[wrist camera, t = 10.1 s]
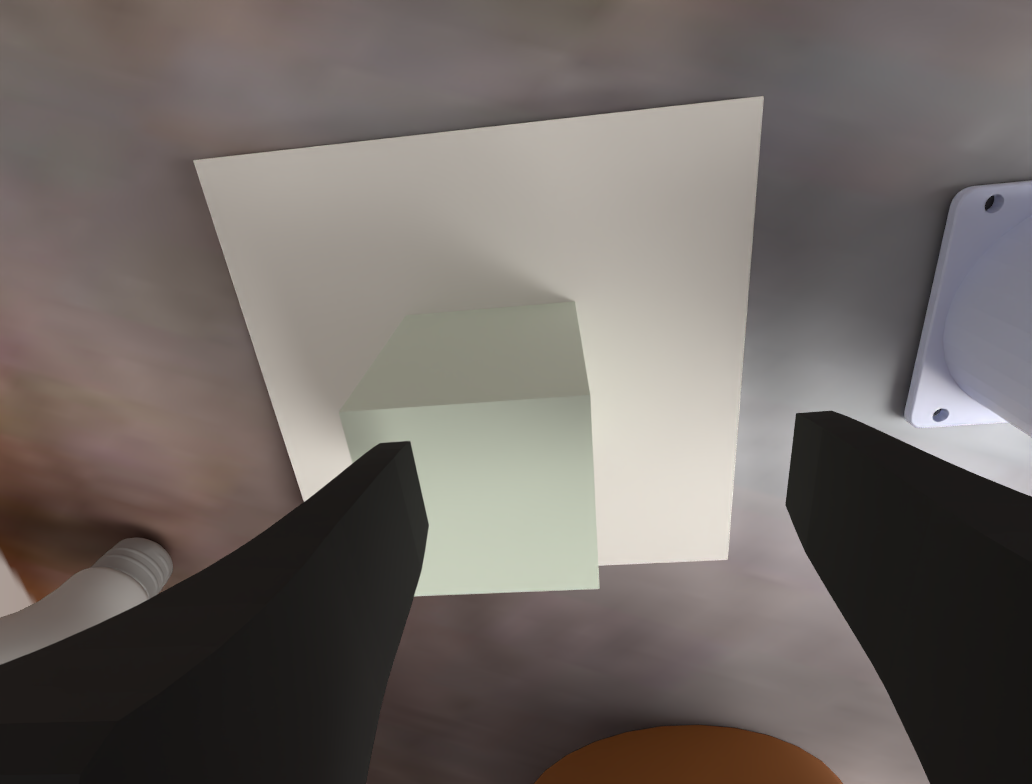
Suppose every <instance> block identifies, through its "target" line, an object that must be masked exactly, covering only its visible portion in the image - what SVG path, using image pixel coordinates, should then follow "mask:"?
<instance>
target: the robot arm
mask: <svg viewBox="0 0 1032 784" xmlns="http://www.w3.org/2000/svg"><path fill="white" fill-rule="evenodd" d="M993 195H994V203H993V205H992V206H991V207H990V208H989V209H988V210H985V206H984V205H985V203H986V201H987V199H989V198H990V197H991V196H993ZM938 409H942V410H941V411H940V413H939V414H937V415H936V416H933V414H934V412H935V411H937V410H938ZM904 417H905V419H906V421H907V422H909V423H910V424H911V425H912V426H914V427H916V428H931V427H947V426H963V425H979V424H995V423H1011V424H1012V425H1014V426H1015V427H1017V428H1018V429H1020V430H1021V431H1023V432H1024V433H1026V434H1027V435H1029V436H1030V437H1032V180H1031V181H1020V182H1010V183H1000V184H989V185H979V186H971V187H967V188H964V189H963V190H961V191H960V192H958V193H957V195H956V196H955V197H954V198H953V200H952V202H951V205H950V209H949V213H948V218H947V222H946V227H945V231H944V236H943V240H942V245H941V249H940V254H939V258H938V263H937V267H936V272H935V276H934V281H933V285H932V290H931V294H930V299H929V303H928V308H927V312H926V317H925V321H924V326H923V330H922V335H921V339H920V344H919V349H918V353H917V358H916V362H915V367H914V371H913V376H912V380H911V385H910V389H909V394H908V398H907V403H906V407H905V412H904ZM786 507H787V510H788V512H789V515H790V517H791V520H792V522H793V525H794V527H795V530H796V532H797V534H798V537H799V539H800V541H801V543H802V546H803V548H804V550H805V552H806V554H807V556H808V558H809V559H810V561H811V563H812V565H813V566H814V568H815V570H816V571H817V573H818V575H819V576H820V578H821V580H822V581H823V583H824V585H825V587H826V588H827V590H828V592H829V593H830V595H831V596H832V598H833V600H834V601H835V603H836V605H837V606H838V608H839V610H840V611H841V613H842V615H843V616H844V618H845V620H846V621H847V623H848V625H849V626H850V628H851V629H852V631H853V633H854V634H855V636H856V638H857V639H858V641H859V643H860V644H861V646H862V648H863V649H864V651H865V653H866V654H867V656H868V658H869V659H870V661H871V663H872V664H873V666H874V668H875V670H876V672H877V673H878V675H879V677H880V679H881V681H882V683H883V684H884V686H885V688H886V690H887V692H888V694H889V696H890V698H891V700H892V702H893V704H894V707H895V709H896V711H897V713H898V715H899V717H900V719H901V721H902V723H903V725H904V728H905V730H906V732H907V734H908V736H909V738H910V740H911V742H912V744H913V747H914V749H915V751H916V753H917V755H918V757H919V760H920V762H921V764H922V766H923V769H924V771H925V773H926V775H927V778H928V780H929V782H930V784H1032V497H1031V496H1028V495H1026V494H1023V493H1020V492H1018V491H1015V490H1013V489H1011V488H1008V487H1006V486H1003V485H1001V484H998V483H996V482H993V481H991V480H988V479H986V478H984V477H981V476H979V475H976V474H974V473H972V472H969V471H967V470H965V469H962V468H960V467H958V466H955V465H953V464H951V463H949V462H946V461H944V460H942V459H940V458H937V457H935V456H933V455H931V454H929V453H926V452H924V451H922V450H920V449H918V448H916V447H913V446H911V445H909V444H907V443H905V442H903V441H900V440H898V439H896V438H894V437H892V436H890V435H888V434H885V433H883V432H881V431H879V430H877V429H875V428H872V427H870V426H868V425H866V424H863V423H861V422H859V421H857V420H854V419H852V418H850V417H847V416H845V415H842V414H839V413H836V412H833V411H822V412H808V413H796V420H795V428H794V437H793V445H792V454H791V463H790V471H789V480H788V488H787V497H786ZM428 528H429V523H428V518H427V514H426V509H425V505H424V500H423V496H422V492H421V487H420V483H419V478H418V474H417V469H416V465H415V460H414V456H413V451H412V447H411V442H410V441H401V442H387V443H379V444H378V445H376V446H375V447H373V448H372V449H370V450H369V451H368V452H366V453H365V454H364V455H362V456H361V457H360V458H359V459H357V460H356V461H355V462H354V463H352V464H351V465H350V466H349V467H347V468H346V469H345V470H344V471H343V472H341V473H340V474H339V475H338V476H336V477H335V478H334V479H333V480H331V481H330V482H329V483H328V484H326V485H325V486H324V487H323V488H321V489H320V490H319V491H318V492H316V493H315V494H314V495H313V496H311V497H310V498H309V499H308V500H306V501H305V502H303V503H302V504H301V505H299V506H298V507H297V508H295V509H294V510H293V511H291V512H290V513H289V514H287V515H286V516H284V517H283V518H282V519H280V520H279V521H278V522H276V523H275V524H274V525H272V526H271V527H270V528H268V529H267V530H265V531H264V532H263V533H261V534H260V535H258V536H257V537H255V538H254V539H252V540H251V541H249V542H248V543H246V544H245V545H243V546H241V547H240V548H238V549H237V550H235V551H234V552H232V553H230V554H229V555H227V556H225V557H224V558H222V559H221V560H219V561H217V562H216V563H214V564H212V565H211V566H209V567H207V568H206V569H204V570H202V571H200V572H199V573H197V574H195V575H193V576H191V577H189V578H188V579H186V580H184V581H182V582H180V583H178V584H176V585H174V586H173V587H171V588H169V589H167V590H165V591H163V592H161V593H159V594H158V595H156V596H154V597H152V598H150V599H148V600H146V601H144V602H143V603H141V604H139V605H137V606H135V607H133V608H131V609H128V610H126V611H124V612H122V613H120V614H118V615H116V616H114V617H112V618H109V619H107V620H105V621H103V622H101V623H99V624H97V625H94V626H92V627H90V628H88V629H85V630H83V631H81V632H79V633H76V634H74V635H72V636H70V637H67V638H65V639H63V640H61V641H58V642H56V643H53V644H51V645H49V646H46V647H44V648H42V649H39V650H37V651H34V652H32V653H29V654H27V655H24V656H21V657H19V658H16V659H14V660H11V661H9V662H6V663H3V664H1V665H0V784H366V780H367V775H368V769H369V764H370V758H371V754H372V749H373V744H374V739H375V734H376V729H377V724H378V719H379V714H380V709H381V705H382V701H383V697H384V693H385V689H386V686H387V682H388V678H389V675H390V672H391V668H392V665H393V662H394V659H395V656H396V652H397V649H398V646H399V643H400V640H401V636H402V633H403V630H404V627H405V624H406V620H407V617H408V614H409V611H410V608H411V604H412V601H413V598H414V594H415V591H416V588H417V585H418V581H419V578H420V574H421V571H422V565H423V560H424V554H425V548H426V542H427V535H428Z"/></svg>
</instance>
